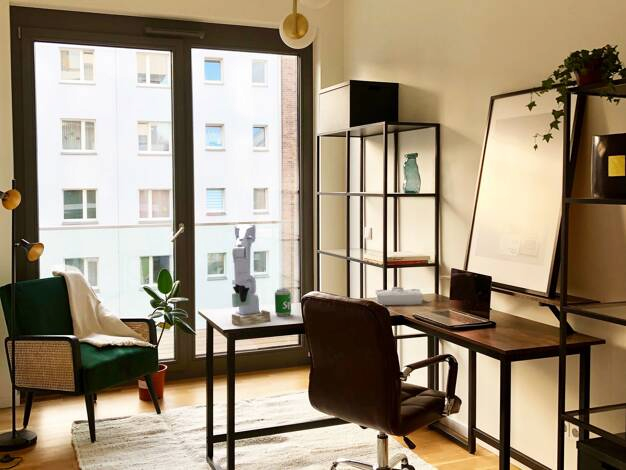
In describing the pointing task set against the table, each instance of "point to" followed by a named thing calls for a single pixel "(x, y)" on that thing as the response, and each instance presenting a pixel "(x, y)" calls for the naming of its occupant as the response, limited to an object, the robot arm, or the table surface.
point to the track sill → (251, 318)
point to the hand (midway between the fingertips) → (241, 301)
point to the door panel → (237, 302)
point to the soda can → (283, 302)
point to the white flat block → (399, 297)
